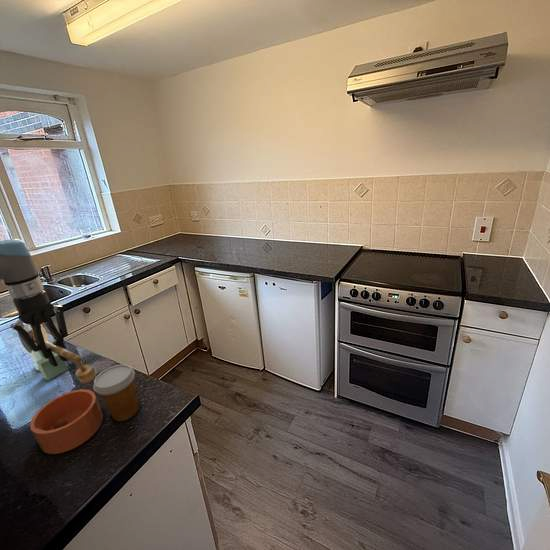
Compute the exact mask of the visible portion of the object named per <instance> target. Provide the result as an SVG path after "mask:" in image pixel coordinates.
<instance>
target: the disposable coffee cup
mask: <svg viewBox="0 0 550 550" xmlns="http://www.w3.org/2000/svg"><path fill="white" fill-rule="evenodd" d="M135 374H136V372H135V370H134V368H132V367H131V366H130V365H128V364H116V365H112V366H110V367H107V368H106V369H103V370H102V371H101V372H99V374H98V375H96V377H95V378H94V379H93V380H94V381H93V387H92V389H93V392H94V393H96V394H98V395H99V397H100V399H101V401H102V402H103V404H104V405H105V407H106V409H107V411H108V412H109V414H110V415H111V417H112V418H113V420H114V421H116V422H124V421H127V420H129V419H131V418H132V417H133V416H135V415H136V414H137V413H138V411H139V407H140V406H139V401H138V395H137V389H136V387H137V386H136V382H135V381H136V380H135Z"/></svg>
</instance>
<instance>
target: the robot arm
mask: <svg viewBox="0 0 550 550" xmlns="http://www.w3.org/2000/svg"><path fill="white" fill-rule="evenodd" d="M1 280H2V281H3V283H4V284H5V288H6V289H7V292H8V293H9V296H10V298H11V299H12V302H13V304H14V306H15V309H16V311H17V312H18V320H16V321H15V322H14V323H12V324H10V328H11V329H12V330H15V331H16V333H17V332H18V333H19V335H20V336H21V337H22V339H23V340H24V341H25V343H26V344H27V345H28V347H29V348H30V349H31V350H33V351H35V352H37V351H40V352H41V354H42V356H43V357H44V358H45V359H49V362H50V364H51V365H53V366H55V367H56V366H58V364H57V362H56V360H55V358H54V355H53V353H54V352H52V351H51V349H50V347H47V346H46V344H45V341H44V337H43V334H42V331H41V325H40V324H42V325H43V323H44V325H45V326H46V328H47V329H48V331H49V333H50V334H51V336H52V338H53V339H54V341H52V344H54V345H57V346H59V347H61V348H64V349H67V348H66V345H65V342H64V341H65V338H66V337H68V336H69V332H68V328H67V323H66V319H65V306H63V305H60V304H57V305H54V304H52V303H51V301H50V299H49V296H48V294H47V291H46V290H45V287H44V285H43V282H42V279H41V277H40V275H39V273H38V269H37V267H36V265H35V262H34V260H33V258H32V255H31V253H30V250H29V249H28V247H27V245H26V243H25V241H24V240H22V239H20V238H10V239H4V240H0V281H1ZM53 312H54V316H55V320H56V324H57V327H56V324H55V323H54V320H53V319H52V315H53ZM24 323H25V324H26V325H27V324H30V326H31V328H32V330H33V333H34V336H35V340H36V343H37V345H36V344H35V343H34V341H33V340H32V338H31V337H30V336H29V334H28V333H27V331H26V330H25V329H23V328H24V326H25V325H24ZM18 333H17V334H18ZM19 335H18V336H19ZM58 356H59V358H60V360H62V361H64V362H65V363H66V362H67V361H68V359H67V358H65V357H63V356H60V355H58Z"/></svg>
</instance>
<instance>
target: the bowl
mask: <svg viewBox="0 0 550 550" xmlns="http://www.w3.org/2000/svg"><path fill="white" fill-rule="evenodd" d="M59 419H66V420H67V422H68V424H67V425H65V426H63V427H60V428H57V429H54V424H55V422H56V421H57V420H59ZM103 420H104V414H103V411H102V408H101V405H100V403H99V401H98V398H97V396H96V394H95V391H92V390H90V389H82V388H81V389H76V390H71V391H69V392H66V393H63V394H60V395H59V396H57V397H54V398H53V399H51V400H50V401H48V402H46V403H45V404H44V405H43V406H41V408H39V409H38V410H37V411H36V413H35V414H34V415H33V416H32V418H31V420H30V422H29V428H30V432H31V433H32V435H33V436H34V439H35V440H36V442H37V445H38V446H39V448H40V449H41V451H42V452H43V453H45V454H49V455H57V454H62V453H67V452H68V451H71V450H73V449H76V448H78V447H79V446H81V445H82V444H84V443H86V441H88V440H89V439H90V438H92V436H94V435H95V434H96V433H97V431H98V430H99V428H101V425H102V423H103Z"/></svg>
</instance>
